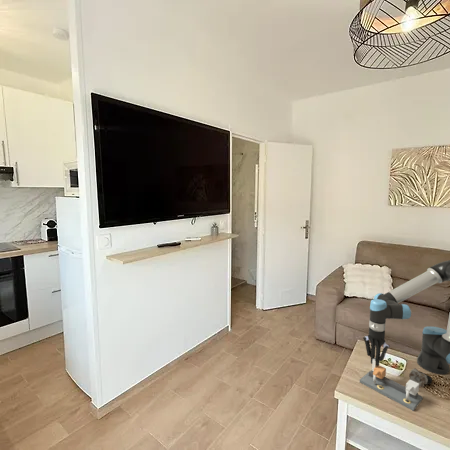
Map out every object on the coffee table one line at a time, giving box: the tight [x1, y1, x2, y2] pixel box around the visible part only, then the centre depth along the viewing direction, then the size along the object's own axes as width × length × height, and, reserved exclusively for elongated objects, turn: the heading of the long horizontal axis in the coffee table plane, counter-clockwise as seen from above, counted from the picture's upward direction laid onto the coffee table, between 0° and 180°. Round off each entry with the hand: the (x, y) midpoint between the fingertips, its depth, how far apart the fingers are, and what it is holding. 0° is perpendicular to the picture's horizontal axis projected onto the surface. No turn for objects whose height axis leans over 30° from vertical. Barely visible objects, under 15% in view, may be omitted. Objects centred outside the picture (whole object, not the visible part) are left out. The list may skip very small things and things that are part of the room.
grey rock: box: [408, 367, 433, 388], centre depth 146 cm, size 7×11×10 cm
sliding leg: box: [373, 364, 387, 383], centre depth 144 cm, size 9×4×5 cm, turn 128°
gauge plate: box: [359, 369, 424, 412], centre depth 139 cm, size 12×25×8 cm, turn 38°
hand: (374, 370), depth 147 cm, fingers closed
